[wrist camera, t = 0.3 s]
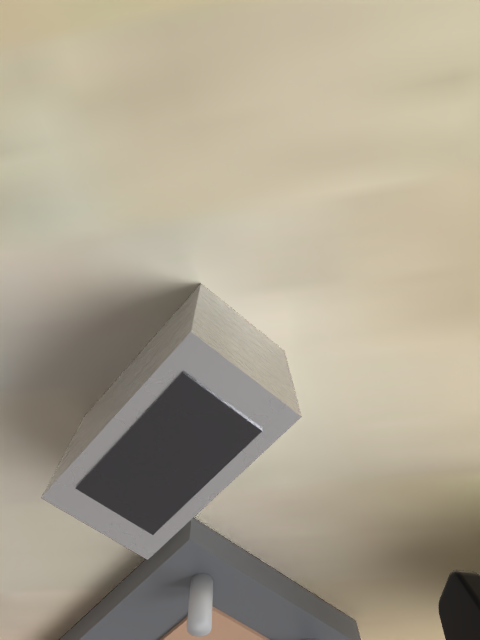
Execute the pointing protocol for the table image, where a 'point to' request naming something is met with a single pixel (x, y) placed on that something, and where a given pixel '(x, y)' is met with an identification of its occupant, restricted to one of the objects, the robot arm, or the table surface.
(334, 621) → the tray
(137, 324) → the table surface
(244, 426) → the drive
